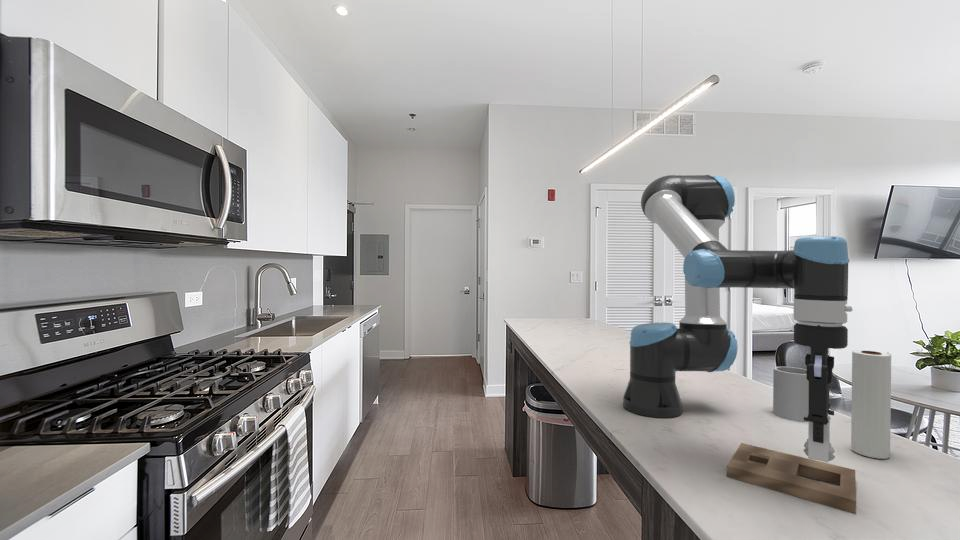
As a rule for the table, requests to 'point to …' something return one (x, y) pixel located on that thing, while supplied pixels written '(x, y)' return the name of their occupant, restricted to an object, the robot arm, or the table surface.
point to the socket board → (795, 476)
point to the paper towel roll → (871, 403)
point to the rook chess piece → (830, 449)
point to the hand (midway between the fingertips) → (819, 454)
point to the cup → (790, 393)
